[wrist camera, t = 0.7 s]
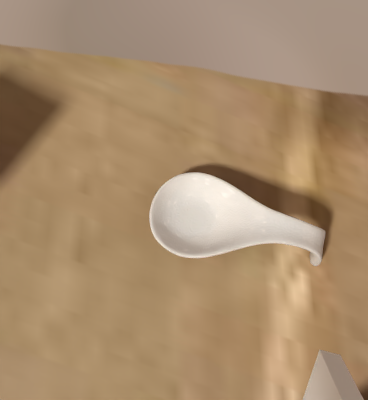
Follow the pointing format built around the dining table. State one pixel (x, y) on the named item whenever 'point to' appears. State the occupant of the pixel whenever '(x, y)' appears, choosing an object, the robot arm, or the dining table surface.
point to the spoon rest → (222, 220)
